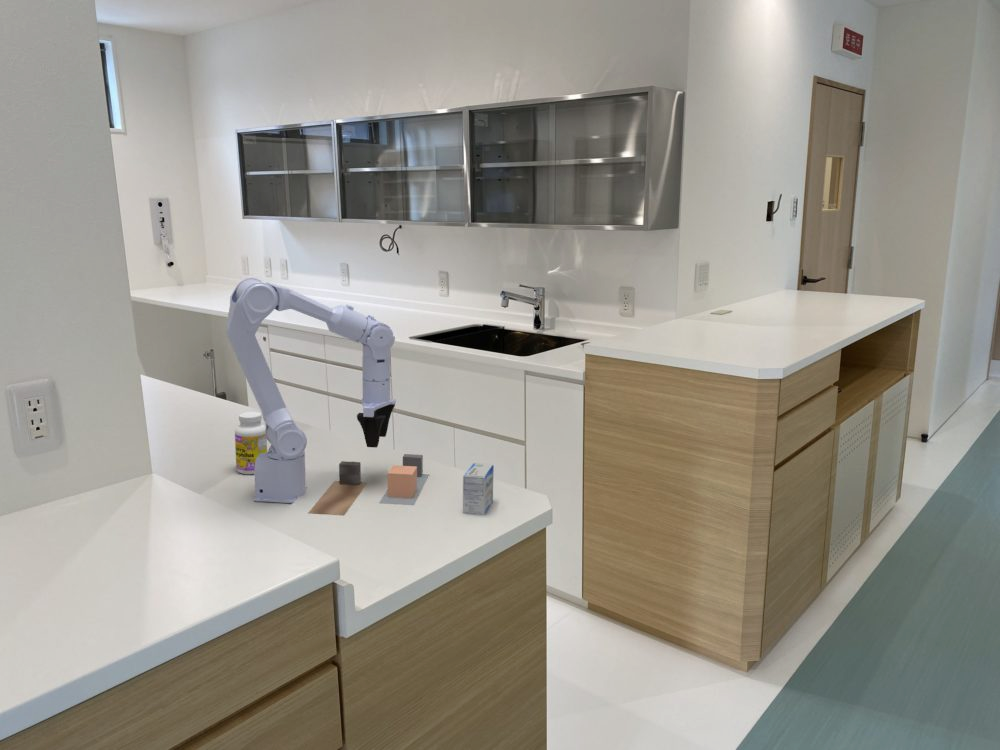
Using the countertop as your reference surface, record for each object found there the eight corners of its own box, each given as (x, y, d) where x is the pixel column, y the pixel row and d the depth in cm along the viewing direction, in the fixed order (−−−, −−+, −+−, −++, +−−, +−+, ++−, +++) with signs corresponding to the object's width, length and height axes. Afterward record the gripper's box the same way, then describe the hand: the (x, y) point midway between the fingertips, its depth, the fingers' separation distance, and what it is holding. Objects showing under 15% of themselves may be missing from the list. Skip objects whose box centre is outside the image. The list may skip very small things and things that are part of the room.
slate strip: (378, 506, 148) (378, 481, 147) (397, 476, 166) (397, 453, 165) (414, 508, 148) (414, 483, 147) (429, 477, 166) (429, 455, 165)
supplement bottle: (229, 472, 165) (227, 415, 163) (250, 463, 171) (248, 409, 169) (254, 477, 163) (252, 419, 160) (274, 468, 169) (272, 412, 166)
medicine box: (484, 520, 144) (485, 477, 142) (461, 517, 145) (462, 474, 143) (493, 505, 152) (494, 464, 150) (471, 503, 152) (472, 462, 151)
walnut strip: (307, 517, 142) (307, 491, 141) (335, 484, 160) (334, 460, 159) (344, 519, 142) (343, 493, 141) (367, 486, 160) (367, 462, 158)
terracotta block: (387, 496, 152) (387, 473, 151) (393, 488, 157) (393, 465, 156) (412, 498, 151) (412, 474, 150) (416, 489, 156) (417, 466, 155)
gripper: (387, 387, 149) (387, 452, 152) (402, 372, 163) (402, 432, 166) (352, 385, 150) (353, 451, 153) (370, 371, 164) (370, 431, 167)
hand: (376, 441), depth 159 cm, fingers open, 7 cm apart
